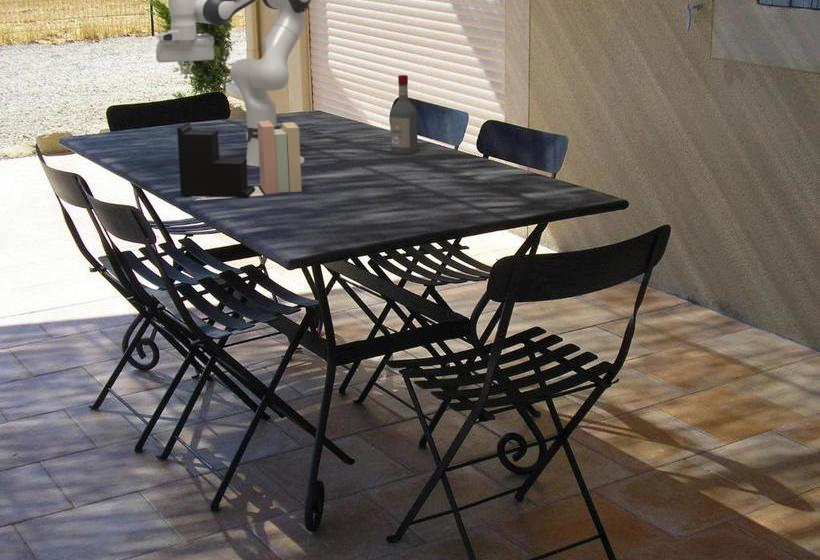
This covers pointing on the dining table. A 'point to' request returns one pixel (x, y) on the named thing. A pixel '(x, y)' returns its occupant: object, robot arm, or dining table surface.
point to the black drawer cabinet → (209, 166)
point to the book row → (279, 157)
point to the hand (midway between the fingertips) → (186, 74)
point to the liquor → (403, 122)
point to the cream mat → (255, 193)
